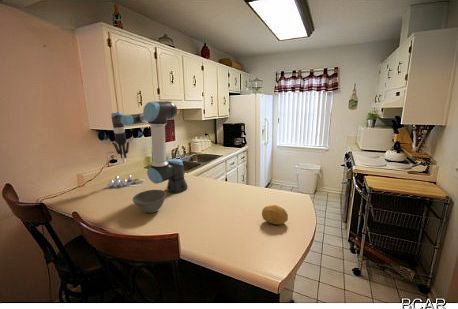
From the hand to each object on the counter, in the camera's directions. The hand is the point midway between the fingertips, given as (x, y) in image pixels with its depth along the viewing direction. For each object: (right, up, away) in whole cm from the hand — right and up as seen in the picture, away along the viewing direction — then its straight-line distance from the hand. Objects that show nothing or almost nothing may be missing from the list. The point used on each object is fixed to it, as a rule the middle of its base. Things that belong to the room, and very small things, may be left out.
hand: (124, 162), depth 172 cm
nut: (+8, -17, +5) cm, 19 cm away
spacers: (-4, -19, +4) cm, 20 cm away
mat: (-1, -19, +5) cm, 19 cm away
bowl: (+36, -28, -41) cm, 62 cm away
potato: (+107, -30, -59) cm, 126 cm away
